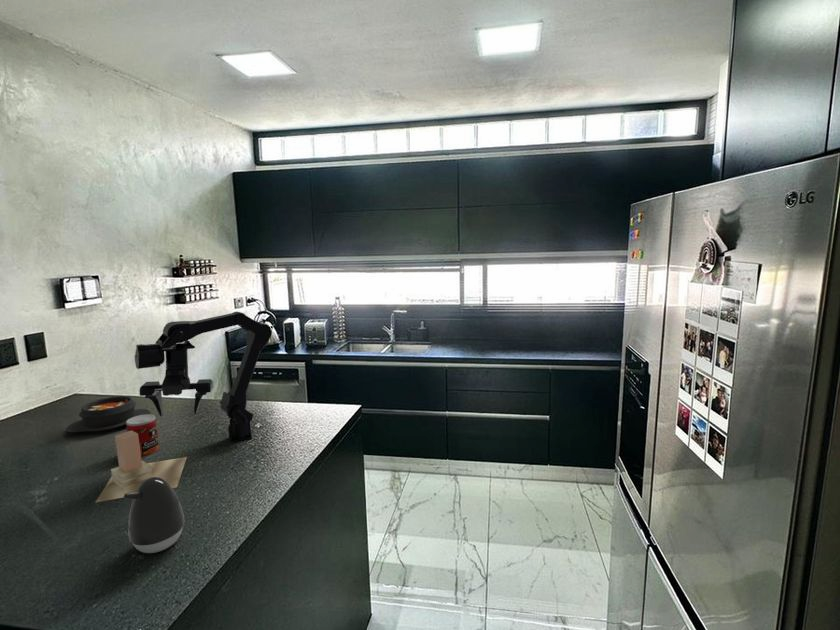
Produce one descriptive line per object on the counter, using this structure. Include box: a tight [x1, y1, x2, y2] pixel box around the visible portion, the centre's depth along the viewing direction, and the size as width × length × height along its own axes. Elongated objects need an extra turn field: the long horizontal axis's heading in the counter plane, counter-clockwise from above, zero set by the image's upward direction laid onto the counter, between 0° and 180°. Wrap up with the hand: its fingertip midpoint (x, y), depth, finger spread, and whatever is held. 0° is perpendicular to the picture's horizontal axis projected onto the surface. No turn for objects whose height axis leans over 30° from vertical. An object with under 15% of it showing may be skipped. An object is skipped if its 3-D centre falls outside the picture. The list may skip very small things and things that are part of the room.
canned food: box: [125, 413, 160, 457], centre depth 135 cm, size 8×8×11 cm
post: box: [114, 430, 143, 473], centre depth 117 cm, size 4×4×10 cm
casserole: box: [65, 395, 151, 434], centre depth 158 cm, size 25×19×8 cm
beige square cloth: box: [95, 456, 188, 503], centre depth 120 cm, size 18×18×1 cm
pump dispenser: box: [123, 477, 185, 554], centre depth 92 cm, size 10×10×15 cm
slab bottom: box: [111, 472, 152, 489], centre depth 119 cm, size 7×7×2 cm
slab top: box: [110, 460, 152, 483], centre depth 119 cm, size 7×7×2 cm
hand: (178, 414), depth 132 cm, fingers open, 9 cm apart
